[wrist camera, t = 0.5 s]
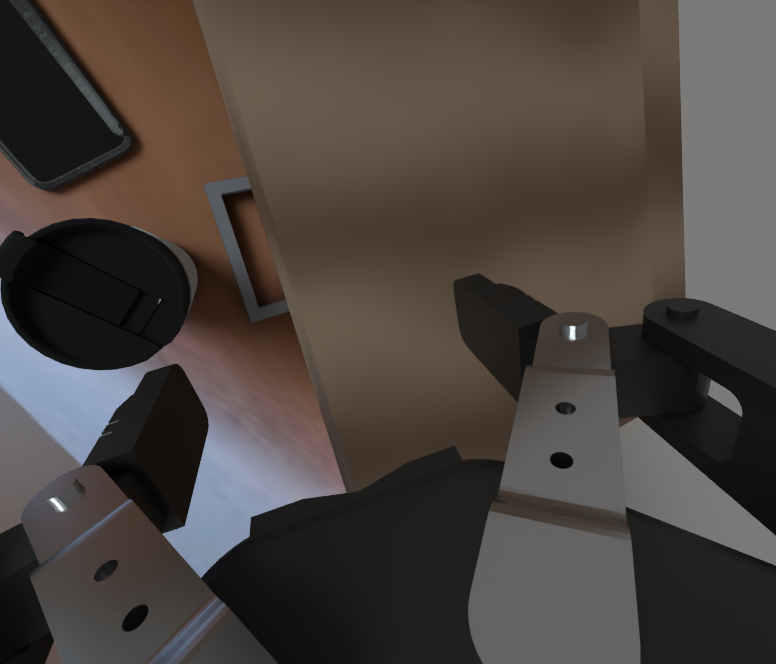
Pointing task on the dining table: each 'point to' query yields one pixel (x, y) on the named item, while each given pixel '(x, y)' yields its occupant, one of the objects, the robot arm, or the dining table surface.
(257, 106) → the overhang shelf
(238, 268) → the seat frame
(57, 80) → the phone
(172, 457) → the robot arm
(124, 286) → the travel mug
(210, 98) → the dining table surface
